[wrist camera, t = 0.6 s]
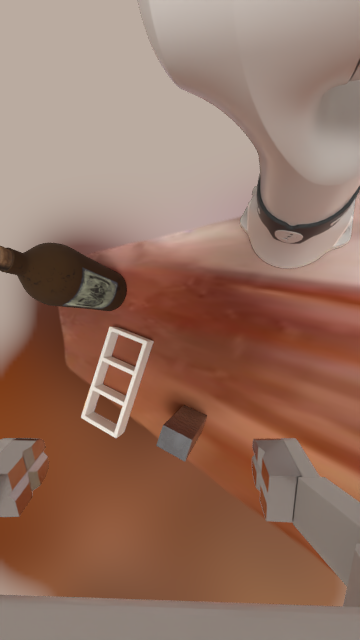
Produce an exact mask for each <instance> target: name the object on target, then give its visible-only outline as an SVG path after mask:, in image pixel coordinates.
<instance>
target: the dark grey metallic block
mask: <svg viewBox="0 0 360 640" xmlns="http://www.w3.org/2000/svg"><path fill="white" fill-rule="evenodd" d="M206 418H207V415H204V414H202V413H200V412H198V411H196V410H194V409H192V408H190V407H188V406H185V405H184V406H182V407H181V408H180V409H179V410H178V411H177V412H176V413H175V414H174V415H173V416H172V417H171V418H170V419H169V420H168V421H167V422H166V423H165V424H164V425H163V427H162V430H161V433H160V436H159V439H158V442H157V446H158V447H160V448H162V449H163V450H165V451H167V452H169V453H170V454H172V455H174V456H176V457H178V458H179V459H181V460H183V461H186V459H187V457H188V455H189V454H190V452H191V450H192V448H193V447H194V445H195V443H196V441H197V440H198V438H199V436H200V434H201V432H202V430H203V427H204V424H205V421H206Z"/></svg>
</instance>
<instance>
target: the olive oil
mask: <svg viewBox="0 0 360 640" xmlns="http://www.w3.org/2000/svg"><path fill="white" fill-rule="evenodd" d="M0 271H2V272H6V273H10V274H15V275H17V276H18V278H19V280H20V282H21V283H22V285H23V287H24V289H25V290H26V292H27V293H28V294H29V295H30V296H32V297H33V298H34V299H36V300H38V301H40V302H42V303H44V304H47V305H52V306H62V307H74V308H85V309H95V310H103V311H111V310H114V309H116V308H118V307H119V306H120V305H121V304H122V302H123V301H124V299H125V296H126V283H125V280H124V279H123V277H122V276H121V275H120V274H118V273H117V272H115V271H113V270H111V269H109V268H107V267H105V266H103V265H101V264H99V263H97V262H96V261H94V260H92V259H90V258H88V257H86V256H85V255H83V254H81V253H79V252H77V251H75V250H74V249H72V248H70V247H68V246H65V245H62V244H57V243H43V244H40V245H37V246H35V247H33V248H31V249H30V250H28V251H26V252H25V253H21V252H18V251H16V250H13V249H11V248H4V247H2V246H0Z"/></svg>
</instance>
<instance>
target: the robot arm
mask: <svg viewBox="0 0 360 640" xmlns="http://www.w3.org/2000/svg"><path fill="white" fill-rule="evenodd" d="M138 5H139V9H140V13H141V17H142V20H143V23H144V26H145V29H146V32H147V35H148V38H149V41H150V43H151V45H152V47H153V50H154V52H155V54H156V56H157V58H158V60H159V61H160V63H161V65H162V66H163V68H164V70H165V71H166V73H167V74H168V76H169V77H170V78H171V79H172V81H173V82H174V83H175V84H176V85H177V86H178V87H179V88H181V89H183V90H185V91H187V92H190V93H192V94H194V95H196V96H198V97H200V98H203V99H204V100H206V101H208V102H209V103H211V104H213V105H214V106H216V107H217V108H219V109H220V110H221V111H223V112H224V113H225V114H226V115H227V116H229V117H230V118H231V119H232V120H233V121H234V122H235V123H236V124H237V125H238V126H239V127H240V128H241V129H242V130H243V131H244V132H245V134H246V135H247V136H248V137H249V139H250V140H251V142H252V143H253V144H254V146H255V148H256V149H257V152H258V155H259V162H260V174H259V180H258V185H257V187H254V189H253V191H252V195H253V197H252V199H251V201H250V202H249V204H248V206H247V208H246V210H245V212H244V213H243V215H242V217H241V219H240V226H241V228H242V229H243V230H244V231H245V232H246V233H247V234H248V236H249V238H250V242H251V245H252V247H253V249H254V251H255V253H256V254H257V255H258V256H259V257H260V258H261V259H262V260H263V261H265V262H266V263H268V264H270V265H272V266H275V267H279V268H298V267H302V266H305V265H308V264H310V263H312V262H314V261H316V260H317V259H319V258H320V257H321V256H322V255H324V254H325V253H326V252H328V251H330V250H333V249H336V248H339V247H342V246H344V245H346V244H347V243H348V242H349V240H350V238H351V232H352V224H353V215H354V207H355V199H356V197H357V194H358V192H359V190H360V0H138ZM344 232H345V233H344ZM45 448H46V446H45V443H44V440H42V439H31V438H29V439H28V438H4V439H1V440H0V517H19V516H20V515H21V513H22V512H23V510H24V509H25V507H26V506H27V504H28V503H29V501H30V500H31V498H32V491H33V490H34V489H36V488H37V487H38V486H40V485H41V484H42V482H43V480H44V479H45V477H46V474H47V471H48V467H49V461H48V457H47V456H46V454H45V453H44V452H43V451H44V449H45ZM253 451H254V454H255V455H254V456H253V457H252V472H253V478H254V482H255V486H256V488H257V489H258V490H259V491H260V503H261V506H262V509H263V512H264V516H265V519H266V521H275V522H293V525H294V526H295V527H296V528H297V529H298V530H299V532H300V533H301V534H302V535H303V536H304V537H305V538H306V540H307V541H308V542H309V543H310V544H311V545H312V547H313V548H314V549H315V550H316V551H317V552H318V554H319V555H320V556H321V557H322V558H323V559H324V560H325V562H326V563H327V564H328V565H329V566H330V567H331V569H332V570H333V571H334V572H335V573H336V574H337V576H338V577H339V578H340V579H341V580H342V581H343V582H344V584H345V585H346V586H347V591H346V595H345V600H344V605H343V607H340V606H311V605H310V606H309V605H284V604H254V603H225V602H197V601H196V602H195V601H194V602H193V601H167V600H138V599H109V598H79V597H50V596H47V597H46V596H18V595H0V640H360V502H358V501H357V500H356V499H354V498H353V497H351V496H350V495H349V494H347V493H346V492H344V491H343V490H342V489H340V488H339V487H338V486H336V485H335V484H333V483H332V482H331V481H329V480H328V479H326V478H325V477H320V476H319V474H318V473H317V471H316V470H315V468H314V466H313V465H312V463H311V462H310V460H309V458H308V457H307V455H306V453H305V452H304V450H303V449H302V447H301V445H300V444H299V442H298V440H296V439H295V438H281V439H254V440H253Z"/></svg>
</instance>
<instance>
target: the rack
mask: <svg viewBox="0 0 360 640" xmlns="http://www.w3.org/2000/svg"><path fill="white" fill-rule="evenodd" d="M118 334H120V335H122V336H125V337H127V338H129V339H132V340H134V341H137V342H139V343H142V344H143V345H142V348H141V351H140V354H139V357H138V361H137V364H136V367H134V366H132V365H130V364H128V363H125V362H123V361H121V360H119V359H117V358H114V357H112V353H113V350H114V347H115V344H116V341H117V338H118ZM153 342H154V341H152V340H149V339H147V338H144V337H142V336H139V335H137V334H134V333H132V332H129V331H126V330H124V329H121V328H119V327H109V330H108V334H107V337H106V340H105V343H104V346H103V349H102V353H101V356H100V359H99V362H98V365H97V368H96V372H95V375H94V378H93V381H92V384H91V388H90V390H89V393H88V396H87V399H86V402H85V405H84V409H83V413H82V416H81V418H82V419H84V420H86V421H87V422H89V423H91V424H93V425H94V426H96V427H98V428H100V429H101V430H103V431H105V432H106V433H108V434H110V435H111V436H113V437H115V438H117V437H118V436H120V435H121V434H122V433H124V431H125V428H126V425H127V422H128V419H129V416H130V412H131V409H132V406H133V403H134V400H135V397H136V394H137V391H138V388H139V385H140V382H141V379H142V376H143V372H144V369H145V366H146V363H147V360H148V357H149V354H150V351H151V348H152V345H153ZM109 364H110V365H112V366H114V367H116V368H119V369H121V370H123V371H125V372H127V373H129V374H131V375H133V376H132V379H131V382H130V385H129V388H128V391H127V395H126V396H125V395H123V394H121V393H119V392H117V391H115V390H113V389H111V388H110V387H108V386H106V385H104V384H103V382H104V378H105V375H106V372H107V369H108V366H109ZM99 394H101V395H103V396H105V397H107V398H109V399H110V400H112V401H114V402H116V403H118V404H120V405H122V406H123V407H122V410H121V413H120V416H119V420H118V422H117V424H115V423H113V422H112V421H110V420H108V419H106V418H104V417H103V416H101V415H99V414H97V413H95V412H94V410H95V407H96V404H97V400H98V397H99Z"/></svg>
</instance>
